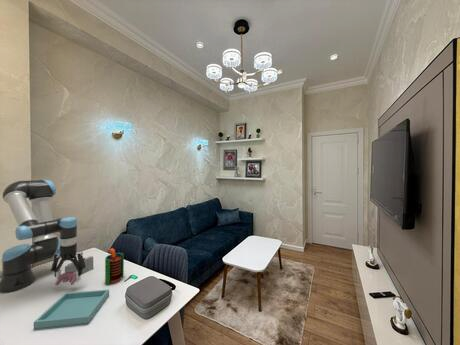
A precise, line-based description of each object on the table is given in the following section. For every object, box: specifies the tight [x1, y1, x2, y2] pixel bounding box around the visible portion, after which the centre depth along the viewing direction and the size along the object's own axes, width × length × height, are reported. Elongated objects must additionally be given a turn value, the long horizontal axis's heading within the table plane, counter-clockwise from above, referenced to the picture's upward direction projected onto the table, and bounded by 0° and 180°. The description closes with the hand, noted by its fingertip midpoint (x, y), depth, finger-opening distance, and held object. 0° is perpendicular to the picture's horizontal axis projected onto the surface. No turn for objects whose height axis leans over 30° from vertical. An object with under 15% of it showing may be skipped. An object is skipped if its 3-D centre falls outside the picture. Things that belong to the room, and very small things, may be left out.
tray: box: [33, 288, 110, 331], centre depth 95 cm, size 22×20×4 cm
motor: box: [104, 248, 125, 286], centre depth 121 cm, size 10×9×20 cm
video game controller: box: [55, 271, 77, 286], centre depth 112 cm, size 10×5×7 cm, turn 93°
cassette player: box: [64, 255, 94, 282], centre depth 128 cm, size 16×3×10 cm, turn 157°
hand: (68, 281), depth 112 cm, fingers closed on video game controller, 10 cm apart
